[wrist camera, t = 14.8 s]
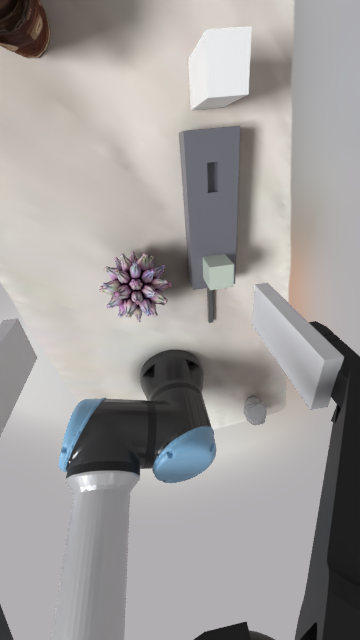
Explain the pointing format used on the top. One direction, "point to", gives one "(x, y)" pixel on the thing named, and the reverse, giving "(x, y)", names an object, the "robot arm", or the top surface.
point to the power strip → (210, 198)
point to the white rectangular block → (220, 68)
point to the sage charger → (218, 272)
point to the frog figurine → (255, 411)
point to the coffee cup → (24, 27)
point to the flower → (135, 286)
